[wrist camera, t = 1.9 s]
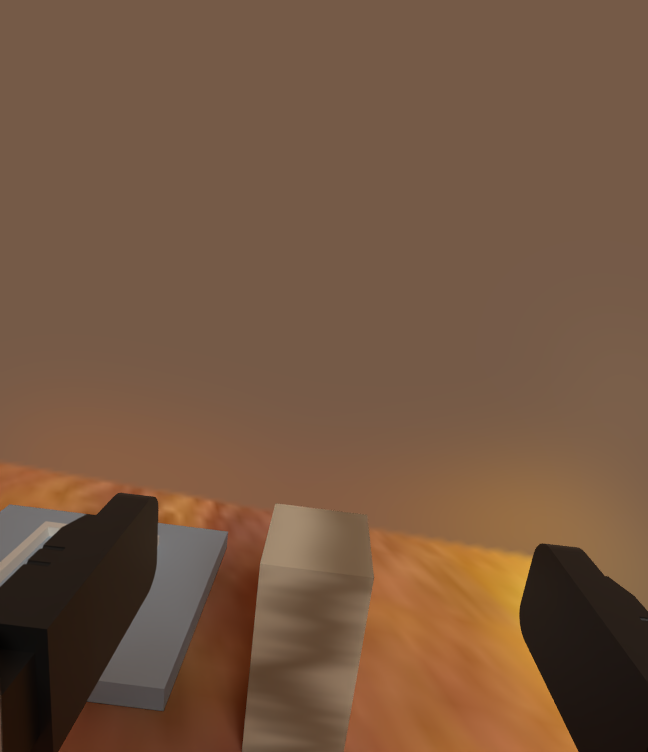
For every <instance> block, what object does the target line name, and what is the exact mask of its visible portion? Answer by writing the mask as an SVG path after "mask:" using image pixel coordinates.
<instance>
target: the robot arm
mask: <svg viewBox="0 0 648 752" xmlns="http://www.w3.org/2000/svg"><path fill="white" fill-rule="evenodd" d="M157 545H158V501H157V499H156V497H151V496H143V495H134V494H126V493H118V494H116V495H115V496H114V497H113V498H112V499H111V500H110V501H109V502H108V503H107V505H106V506H105V507H104V508H103V509H102V510H101V511H100V512H99V513H98V514H97V515H90V514H86V515H84V516H82V517H80V518H78V519H76V520H75V521H73V522H71V523H69V524H67V525H65V526H63V527H61V528H60V529H59V530H58V531H57V532H56V533H55V534H54V535H53V536H52V537H51V538H50V539H49V540H48V541H47V542H46V543H45V544H44V545H43V548H42V549H39V550H38V551H37V552H36V553H34V554H33V555H32V556H31V557H30V558H29V559H28V562H27V564H23V565H22V566H21V567H20V568H19V569H18V570H17V571H16V572H15V573H14V574H13V575H12V576H11V577H10V578H9V579H8V580H7V581H6V582H5V583H3V584H2V585H1V586H0V752H58V751H59V749H60V747H61V746H62V744H63V742H64V740H65V739H66V737H67V735H68V733H69V732H70V730H71V728H72V726H73V725H74V723H75V721H76V719H77V718H78V716H79V714H80V712H81V711H82V709H83V707H84V705H85V704H86V702H87V700H88V698H89V697H90V695H91V693H92V691H93V690H94V688H95V686H96V684H97V683H98V681H99V679H100V677H101V675H102V674H103V672H104V670H105V668H106V667H107V665H108V663H109V661H110V660H111V658H112V656H113V654H114V653H115V651H116V649H117V647H118V646H119V644H120V642H121V640H122V639H123V637H124V635H125V633H126V632H127V630H128V628H129V626H130V625H131V623H132V621H133V619H134V618H135V616H136V614H137V612H138V611H139V609H140V607H141V605H142V604H143V602H144V600H145V598H146V597H147V595H148V593H149V591H150V589H151V586H152V583H153V580H154V576H155V572H156V567H157ZM520 626H521V631H522V635H523V638H524V640H525V642H526V644H527V646H528V648H529V651H530V653H531V655H532V657H533V659H534V661H535V663H536V665H537V667H538V669H539V671H540V673H541V675H542V677H543V679H544V681H545V683H546V686H547V688H548V690H549V692H550V694H551V696H552V698H553V700H554V702H555V704H556V706H557V708H558V710H559V712H560V714H561V716H562V718H563V721H564V723H565V725H566V727H567V729H568V731H569V733H570V735H571V737H572V739H573V741H574V743H575V745H576V747H577V749H578V751H579V752H648V611H647V610H646V609H645V608H644V607H643V605H642V604H641V603H640V602H639V601H638V600H637V599H636V597H635V596H633V595H632V594H631V593H629V592H628V591H627V590H625V589H624V588H623V587H621V586H620V585H619V584H617V583H616V582H615V581H613V580H612V579H611V578H609V577H607V576H604V575H603V573H602V572H601V571H600V570H599V569H598V568H597V566H596V565H595V564H594V563H593V562H592V560H591V559H590V558H589V557H588V556H587V554H586V553H585V552H584V551H583V550H581V549H580V548H577V547H567V546H560V545H550V544H540V545H538V546H537V548H536V549H535V552H534V555H533V559H532V562H531V566H530V570H529V574H528V578H527V581H526V585H525V589H524V593H523V597H522V600H521V605H520Z"/></svg>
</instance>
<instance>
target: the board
mask: <svg viewBox="0 0 648 752" xmlns="http://www.w3.org/2000/svg"><path fill="white" fill-rule="evenodd" d="M84 515H86V514H81V513H73V512H65V511H57V510H49V509H41V508H33V507H25V506H17V505H8V506H7V507H6V508H5V509H3V510H2V511H1V512H0V586H1V585H2V584H3V583H5V582H6V581H7V580H8V579H9V578H10V577H11V576H12V575H13V574H14V573H15V572H16V571H17V570H18V569H19V568H20V567H21V566H22V565H23V564H27V562H28V559H29V558H30V557H31V556H32V555H33V554H34V553H36V552H37V551H38V550H39V549H42V548H43V545H44V544H45V543H46V542H47V541H48V540H49V539H50V538H51V537H52V536H53V535H54V534H55V533H56V532H57V531H58V530H59V529H60V528H61V527H63V526H65V525H67V524H69V523H71V522H73V521H75V520H76V519H78V518H80V517H82V516H84ZM227 537H228V532H226V531H218V530H210V529H202V528H194V527H186V526H178V525H170V524H162V523H158V545H157V567H156V572H155V576H154V580H153V583H152V586H151V589H150V591H149V593H148V595H147V597H146V598H145V600H144V602H143V604H142V605H141V607H140V609H139V611H138V612H137V614H136V616H135V618H134V619H133V621H132V623H131V625H130V626H129V628H128V630H127V632H126V633H125V635H124V637H123V639H122V640H121V642H120V644H119V646H118V647H117V649H116V651H115V653H114V654H113V656H112V658H111V660H110V661H109V663H108V665H107V667H106V668H105V670H104V672H103V674H102V675H101V677H100V679H99V681H98V683H97V684H96V686H95V688H94V690H93V691H92V693H91V695H90V697H89V698H88V700H87V702H95V703H103V704H111V705H119V706H127V707H135V708H143V709H151V710H159V711H164V709H165V706H166V703H167V701H168V698H169V696H170V693H171V690H172V688H173V685H174V683H175V680H176V678H177V675H178V672H179V670H180V667H181V665H182V662H183V659H184V657H185V654H186V652H187V649H188V646H189V644H190V641H191V639H192V636H193V633H194V631H195V628H196V626H197V623H198V621H199V618H200V615H201V613H202V610H203V608H204V605H205V602H206V600H207V597H208V595H209V592H210V589H211V587H212V584H213V582H214V579H215V577H216V574H217V571H218V569H219V566H220V564H221V561H222V558H223V556H224V553H225V551H226V548H227Z"/></svg>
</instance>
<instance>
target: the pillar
mask: <svg viewBox="0 0 648 752" xmlns="http://www.w3.org/2000/svg"><path fill="white" fill-rule="evenodd" d="M373 580H374V574H373V565H372V555H371V546H370V537H369V527H368V518H367V515H364V514H356V513H348V512H339V511H332V510H324V509H316V508H308V507H300V506H292V505H284V504H275V508H274V512H273V516H272V520H271V523H270V527H269V531H268V535H267V539H266V543H265V547H264V551H263V555H262V558H261V562H260V570H259V581H258V591H257V601H256V611H255V622H254V632H253V642H252V653H251V663H250V673H249V684H248V694H247V704H246V714H245V725H244V735H243V745H242V752H344V747H345V741H346V735H347V730H348V724H349V718H350V712H351V707H352V701H353V695H354V689H355V684H356V678H357V672H358V666H359V661H360V655H361V649H362V643H363V638H364V632H365V626H366V620H367V615H368V609H369V603H370V597H371V592H372V586H373Z"/></svg>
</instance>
